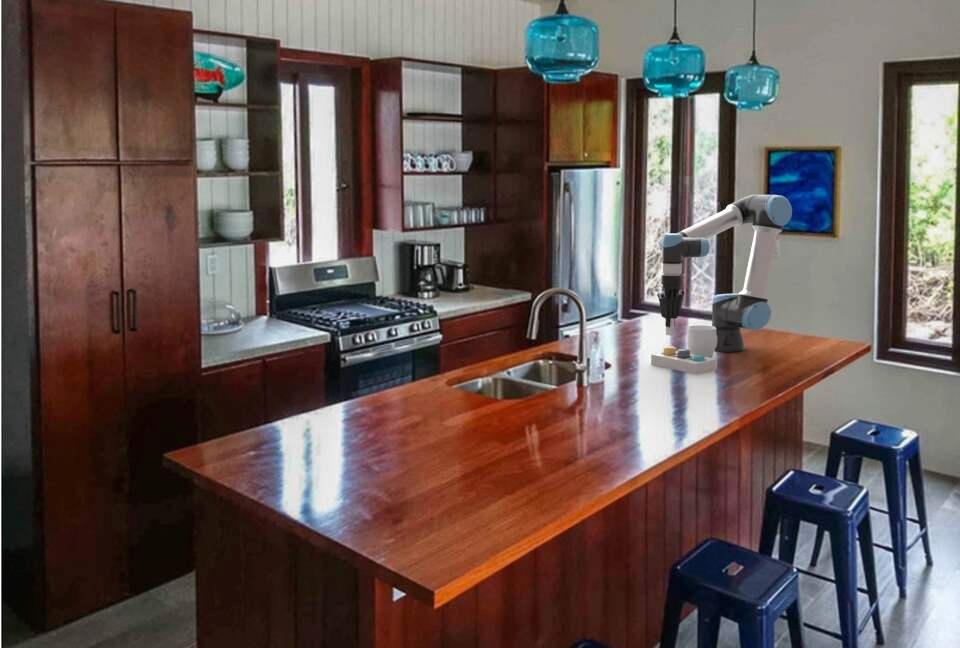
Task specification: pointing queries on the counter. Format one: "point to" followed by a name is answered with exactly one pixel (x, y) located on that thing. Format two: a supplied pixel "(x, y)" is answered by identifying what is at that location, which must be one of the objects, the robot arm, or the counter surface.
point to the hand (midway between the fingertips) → (669, 334)
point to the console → (683, 363)
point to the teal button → (698, 358)
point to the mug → (702, 340)
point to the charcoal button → (683, 353)
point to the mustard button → (669, 350)
